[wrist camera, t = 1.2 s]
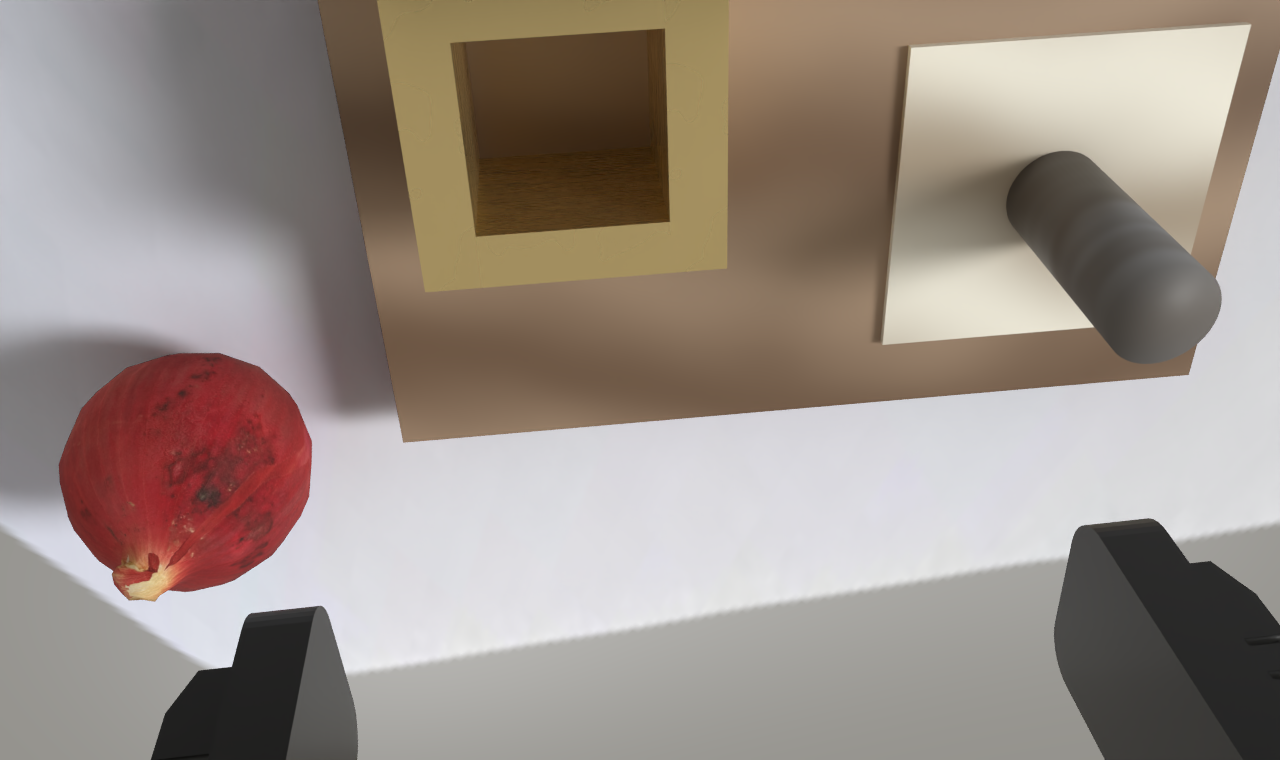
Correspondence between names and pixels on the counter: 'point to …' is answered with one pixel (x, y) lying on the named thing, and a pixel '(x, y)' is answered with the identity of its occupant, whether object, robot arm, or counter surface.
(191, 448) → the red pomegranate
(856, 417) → the counter surface
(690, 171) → the collar
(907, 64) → the post board
